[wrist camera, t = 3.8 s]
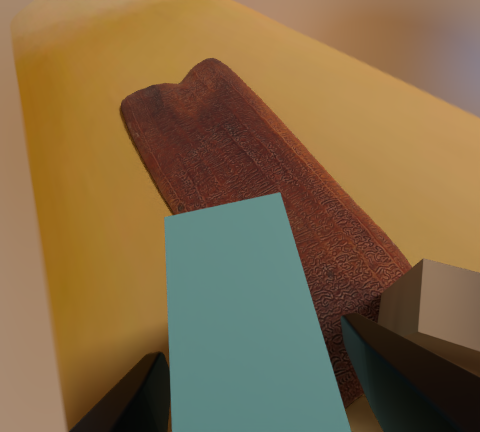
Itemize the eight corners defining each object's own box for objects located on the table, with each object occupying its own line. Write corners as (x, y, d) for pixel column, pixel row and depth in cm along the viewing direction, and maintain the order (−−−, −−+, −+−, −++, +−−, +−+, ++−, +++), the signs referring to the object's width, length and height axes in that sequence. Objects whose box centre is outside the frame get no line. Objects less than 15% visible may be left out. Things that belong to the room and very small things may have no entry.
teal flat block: (340, 528, 10) (522, 1006, 2) (260, 542, 10) (194, 1047, 3) (281, 288, 15) (280, 192, 7) (225, 299, 15) (164, 217, 7)
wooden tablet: (119, 111, 25) (109, 95, 24) (217, 65, 26) (213, 47, 25) (290, 447, 12) (291, 457, 11) (465, 322, 13) (487, 315, 12)
